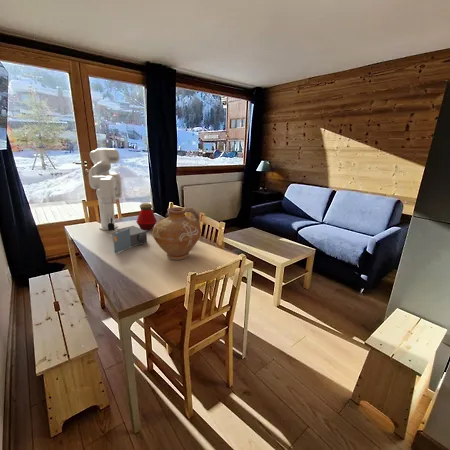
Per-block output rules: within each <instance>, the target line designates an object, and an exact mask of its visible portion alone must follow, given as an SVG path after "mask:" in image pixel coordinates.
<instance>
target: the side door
mask: <svg viewBox="0 0 450 450" xmlns="http://www.w3.org/2000/svg"><path fill="white" fill-rule="evenodd" d="M112 240H113V248H114V249H113V250H114V254H115V255H116V254H118V253H120V252H123V251H125V250H128V249H129V248H132V247H131V240H130V228H128V229H125V230H123V231H120V232H114V233H112Z"/></svg>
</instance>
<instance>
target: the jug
mask: <svg viewBox="0 0 450 450" xmlns="http://www.w3.org/2000/svg"><path fill="white" fill-rule="evenodd" d="M167 213H169V217H167V218H166V217H165V218H163V219H160V221H158V222H156V224H155V226H154V228H153V229H152V237H153V239H154V242H156V244H157V245H158V246H159V248H161V249H162V251H164V252H165V253H166V256H167V258H168V259H170V260H174V261H180V260H184V259H186V258H188V257H189V255H190V253H189V252H190V251H191V250H192V249H193V248H194V246H195V245H196V244H197V243H198V241H199V240H200V238H201V235H202V228H201V222H200V221H201V217H200V212H198V210H196V209H194V208H193V207H188V206H187V207H184V206H183V207H181V206H173V207H169V208H167ZM186 213H190V214H192V215H193V216H194V218H192V217H189V216H186V215H185V214H186Z"/></svg>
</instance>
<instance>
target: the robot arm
mask: <svg viewBox="0 0 450 450" xmlns="http://www.w3.org/2000/svg"><path fill="white" fill-rule="evenodd" d="M89 157H90V160H91V162H92V164H93V166H91V168H90V169H89V171H88V182H89V183H88V185H89V186H90V188H91V189H93V190H95V191H96V192H95V193H96V197H97V202H98V207H99V215H100V217H99V218H100V225H99V230H101V231H103V230H104V231H108V232H109V231H115V229H116V228H118V225H117V224H116V222H115V205H114V204H116V203H117V201H116V200H120V199H122V197H123V192H122V191H123V190H122V178H121V175H120V174H119V173H118V172H110V170H111V168H112V165H111V164H118V163H119V161H120V153H119V151H118V149H116V148H114V147H113V148H112V147H111V148H109V147H108V148H107V147H99V148H96V149H95V150H91V151H90V152H89Z"/></svg>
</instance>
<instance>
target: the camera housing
mask: <svg viewBox="0 0 450 450" xmlns="http://www.w3.org/2000/svg"><path fill="white" fill-rule="evenodd" d="M128 228H130V240H131V247H130V248H132V247H136V246H138V245H143V244H146V243H148V237H147V236H148V234H147V230H142V229H141V228H140V227H139V226H138V227H137V226H135V225H130V226H126V227H121V228H118V229H117V230H116V231H117V232H120V231H123V230H125V229H128ZM117 232H116V233H117Z"/></svg>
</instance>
